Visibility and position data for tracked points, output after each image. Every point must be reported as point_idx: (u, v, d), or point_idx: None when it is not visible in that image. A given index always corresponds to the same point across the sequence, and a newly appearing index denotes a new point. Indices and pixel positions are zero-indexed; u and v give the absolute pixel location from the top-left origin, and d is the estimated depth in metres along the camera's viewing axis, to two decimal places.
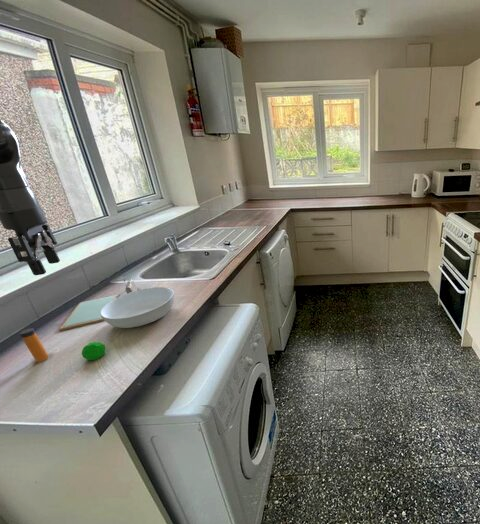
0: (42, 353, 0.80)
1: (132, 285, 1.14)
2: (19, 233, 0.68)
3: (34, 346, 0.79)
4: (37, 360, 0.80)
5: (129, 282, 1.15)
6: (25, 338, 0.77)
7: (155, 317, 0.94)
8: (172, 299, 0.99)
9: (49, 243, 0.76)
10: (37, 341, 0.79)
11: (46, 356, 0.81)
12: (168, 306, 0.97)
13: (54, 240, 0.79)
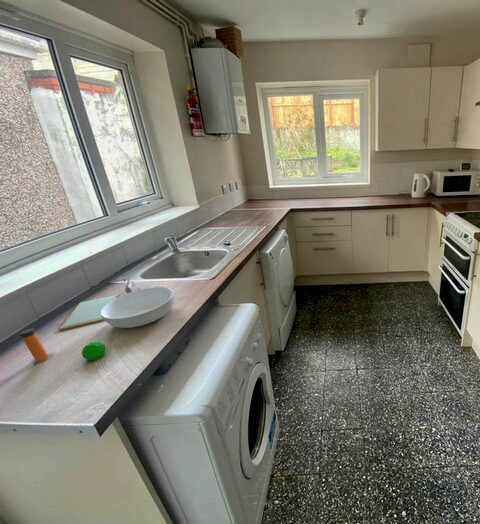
0: (42, 353, 0.80)
1: (132, 285, 1.14)
2: None
3: (34, 346, 0.79)
4: (37, 360, 0.80)
5: (129, 282, 1.15)
6: (25, 338, 0.77)
7: (155, 317, 0.94)
8: (172, 299, 0.99)
9: None
10: (37, 341, 0.79)
11: (46, 356, 0.81)
12: (168, 306, 0.97)
13: None
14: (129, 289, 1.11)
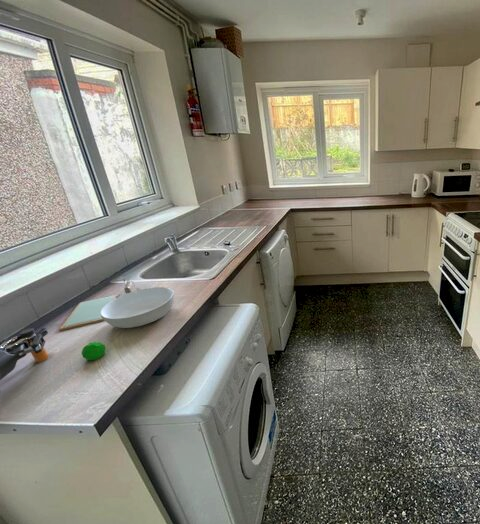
0: (42, 353, 0.80)
1: (131, 285, 1.14)
2: None
3: None
4: (37, 360, 0.80)
5: (128, 282, 1.15)
6: None
7: (155, 317, 0.94)
8: (172, 299, 0.99)
9: None
10: None
11: (46, 356, 0.81)
12: (168, 306, 0.97)
13: None
14: (128, 289, 1.11)
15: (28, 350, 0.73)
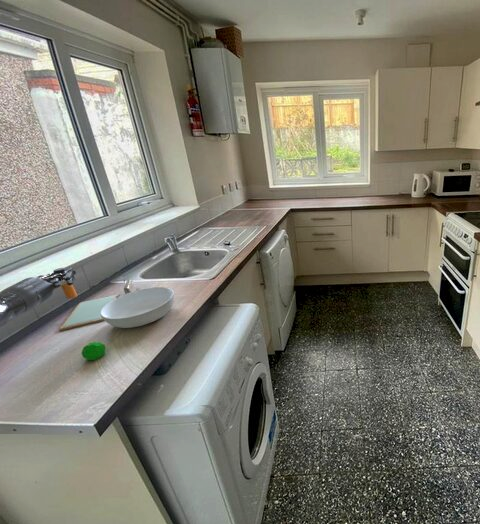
0: (72, 290, 0.93)
1: (131, 285, 1.14)
2: None
3: None
4: (67, 296, 0.93)
5: (128, 282, 1.15)
6: None
7: (155, 317, 0.94)
8: (172, 299, 0.99)
9: None
10: None
11: (75, 293, 0.94)
12: (168, 306, 0.97)
13: None
14: (128, 289, 1.11)
15: (62, 282, 0.86)
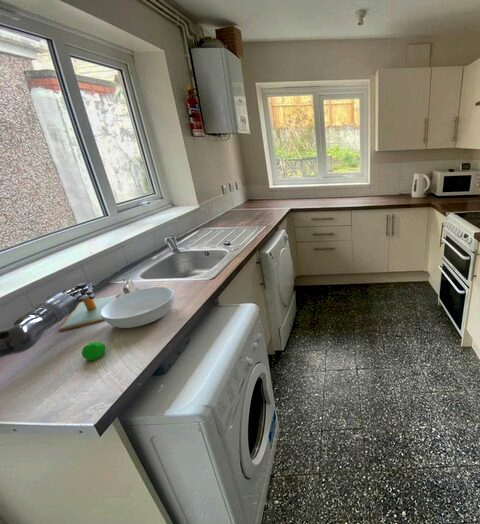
0: (91, 302, 1.04)
1: (130, 285, 1.14)
2: None
3: None
4: (88, 307, 1.04)
5: (127, 282, 1.15)
6: None
7: (155, 317, 0.94)
8: (172, 299, 0.99)
9: None
10: None
11: (94, 305, 1.05)
12: (168, 306, 0.97)
13: None
14: (127, 289, 1.11)
15: (85, 296, 0.96)
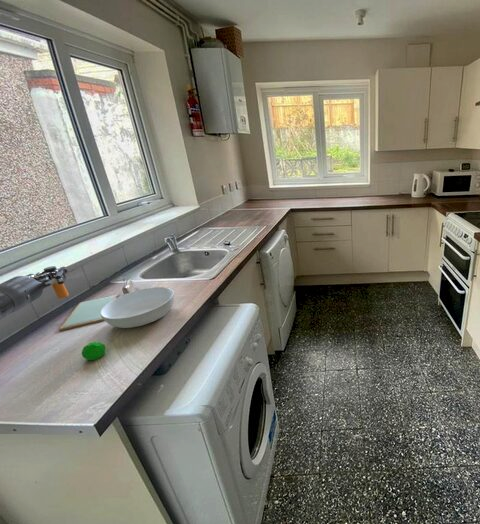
0: (63, 289, 0.91)
1: (129, 285, 1.14)
2: None
3: (56, 282, 0.89)
4: (58, 295, 0.90)
5: (127, 282, 1.15)
6: None
7: (155, 317, 0.94)
8: (172, 299, 0.99)
9: None
10: None
11: (66, 292, 0.92)
12: (168, 306, 0.97)
13: None
14: (126, 289, 1.11)
15: (52, 280, 0.83)
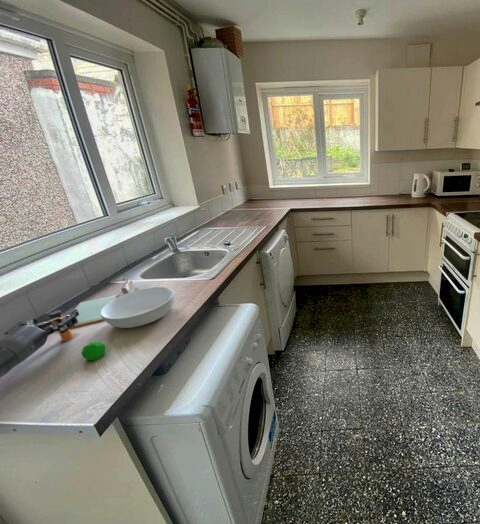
0: (68, 333, 0.89)
1: (129, 285, 1.14)
2: None
3: None
4: (64, 339, 0.89)
5: (126, 282, 1.15)
6: None
7: (155, 317, 0.94)
8: (172, 299, 0.99)
9: None
10: None
11: (71, 336, 0.90)
12: (168, 306, 0.97)
13: None
14: (125, 289, 1.11)
15: (54, 329, 0.80)
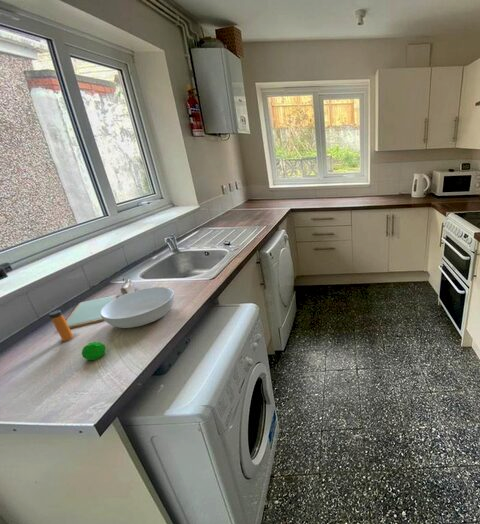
0: (68, 333, 0.89)
1: (128, 285, 1.14)
2: None
3: (61, 326, 0.87)
4: (64, 339, 0.89)
5: (126, 282, 1.15)
6: (54, 319, 0.86)
7: (155, 317, 0.94)
8: (172, 299, 0.99)
9: None
10: (64, 322, 0.88)
11: (71, 336, 0.90)
12: (168, 306, 0.97)
13: None
14: (124, 289, 1.11)
15: None
